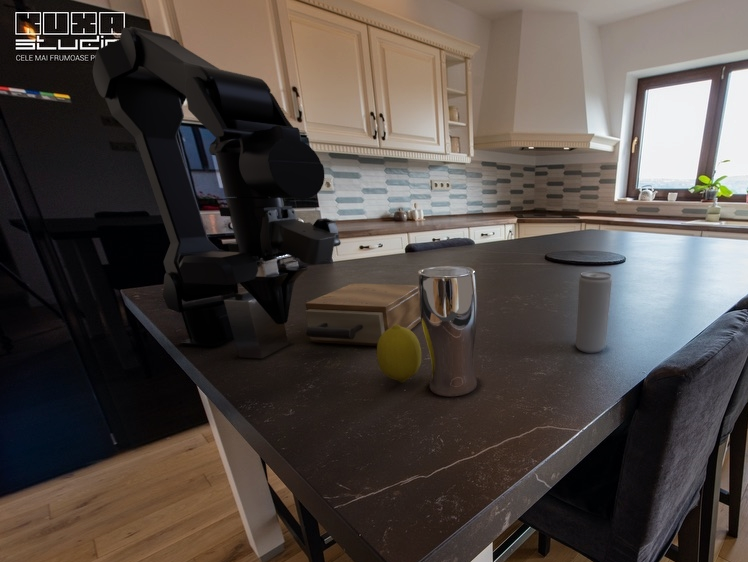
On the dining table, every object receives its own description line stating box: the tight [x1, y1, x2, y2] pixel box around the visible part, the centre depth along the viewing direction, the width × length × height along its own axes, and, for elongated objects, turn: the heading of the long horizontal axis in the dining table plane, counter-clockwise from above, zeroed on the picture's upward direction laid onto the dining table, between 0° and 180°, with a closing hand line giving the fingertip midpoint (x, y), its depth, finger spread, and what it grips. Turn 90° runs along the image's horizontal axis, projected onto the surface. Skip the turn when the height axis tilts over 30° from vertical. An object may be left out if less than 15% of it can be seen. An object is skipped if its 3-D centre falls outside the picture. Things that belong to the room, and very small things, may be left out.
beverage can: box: [575, 270, 613, 354], centre depth 61 cm, size 5×5×12 cm
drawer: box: [304, 309, 385, 343], centre depth 67 cm, size 18×13×5 cm
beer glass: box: [417, 265, 479, 398], centre depth 49 cm, size 7×7×15 cm
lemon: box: [376, 325, 422, 383], centre depth 51 cm, size 6×6×8 cm
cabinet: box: [305, 282, 421, 347], centre depth 71 cm, size 15×14×7 cm
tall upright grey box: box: [224, 289, 290, 360], centre depth 61 cm, size 4×6×10 cm, turn 171°
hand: (281, 323), depth 52 cm, fingers closed
